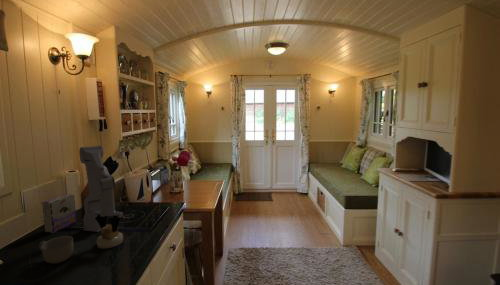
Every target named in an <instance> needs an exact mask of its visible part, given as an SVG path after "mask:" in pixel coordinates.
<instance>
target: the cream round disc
mask: <svg viewBox="0 0 500 285" xmlns="http://www.w3.org/2000/svg"><path fill="white" fill-rule="evenodd" d="M123 242H124V235H123V233H122V232H120V231H118V236H116V237H115V238H113V239H112V240H107V239H102V234H101V235H99V236H98V237H97V238H96V246H97V248H98V249H110V248H115V247H117V246H119V245H121V244H122V243H123Z"/></svg>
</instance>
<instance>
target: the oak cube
mask: <svg viewBox="0 0 500 285" xmlns="http://www.w3.org/2000/svg"><path fill="white" fill-rule="evenodd" d="M106 225H107V226H105V227H103V228H101V231H100V232H101V233H100V234H101V235H102V239H107V240H112V239H113V238H115V237H116V236H118V232H119V227H118V228H117V231H115V232H113V231H112V225H111V223H109V224H106Z"/></svg>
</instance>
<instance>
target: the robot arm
mask: <svg viewBox="0 0 500 285" xmlns="http://www.w3.org/2000/svg"><path fill="white" fill-rule="evenodd" d="M78 150H79V159H80V163H81V164H84V166H85V170H86V177H87V185H88V192H89V193H88V195H87V196H86V197H85V198H84V200H83V209H84V212H85V213H84V216H83V227H84V228H83V229H82V230H83V231H86V232H87V231H88V232H95V233H99V232H101V228H103V227H105V226H107V225H108V224H107V219H108V217H111V218H109V220H108V221H109V222H110V224H111V225H112V231H113V232H115V231H117V228H118V229H119V223H120V220H121V219H122V218H123V217H124V212H121V211H118V210H116V209H115V206H116V205H115V194H114V192H115V191H114V190H115V187H116V181H115V178H114V176H113V175H112V174H110V172H109V169H108V168H107V166H105V165H104V164H103V161H102V158H103V157H104V148H103V146H101V145H93V146H92V145H91V146H83V147H82V146H80V148H79V149H78Z"/></svg>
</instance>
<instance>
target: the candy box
mask: <svg viewBox="0 0 500 285" xmlns="http://www.w3.org/2000/svg"><path fill="white" fill-rule="evenodd" d="M75 202H76V200H75V194H71V193H70V194H68V193H65V194H63V195H60V196H57V197H54V198H50V199H47V200H44V201H42V202H41V205H42V213H43V215H42V216H43V225H44V232H45V233H50V234H54V233H56V232H59V231H61V230H63V229H66V228H68V227H70V226H72V225H74V224H76V223H77V221H78V220H77V219H78V218H77V213H76V212H77V211H76V203H75ZM65 227H66V228H65Z"/></svg>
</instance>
